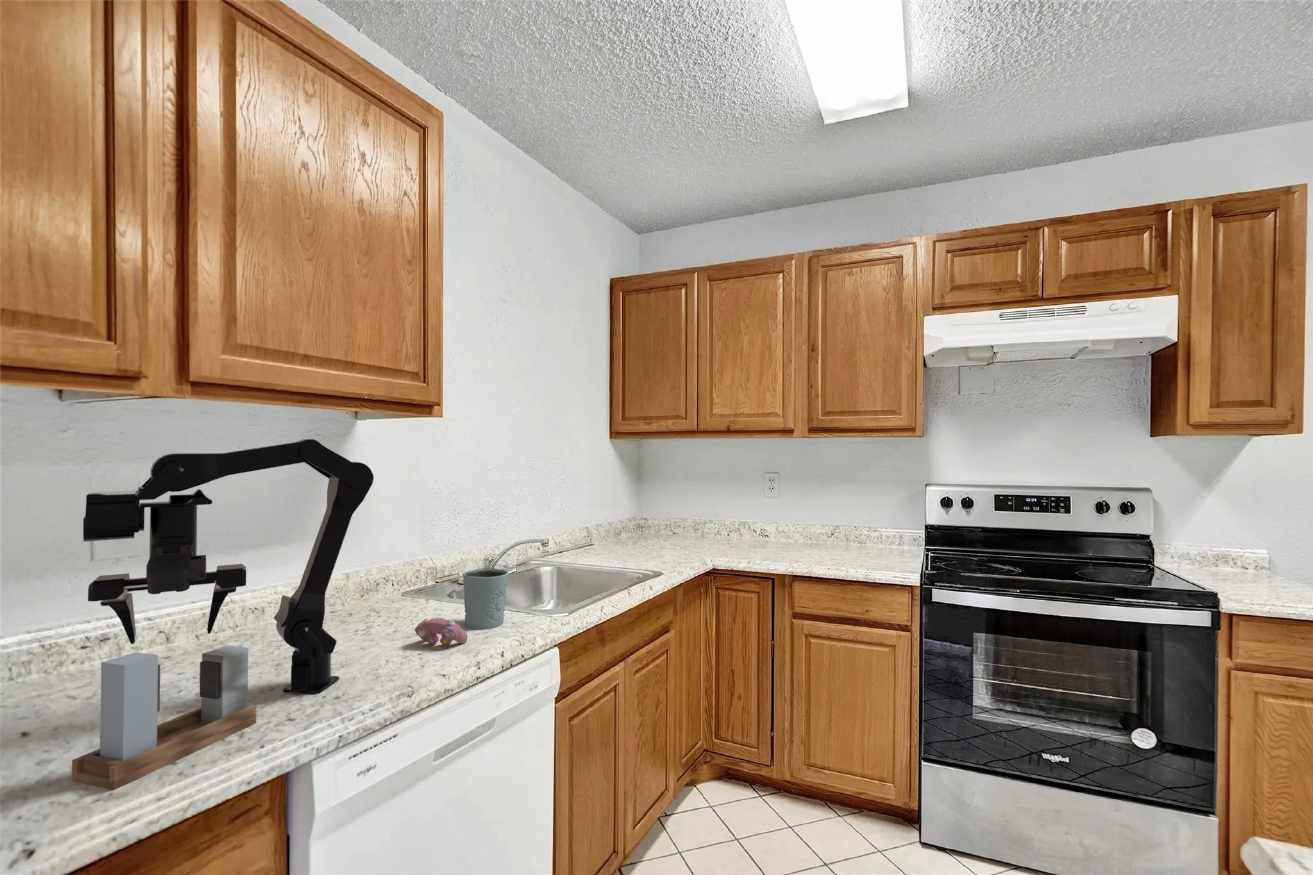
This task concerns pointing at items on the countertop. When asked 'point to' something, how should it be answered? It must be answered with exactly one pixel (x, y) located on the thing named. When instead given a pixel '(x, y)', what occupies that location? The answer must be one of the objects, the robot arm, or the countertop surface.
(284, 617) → the robot arm
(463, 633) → the video game controller
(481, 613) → the grey green cup
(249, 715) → the walnut rail
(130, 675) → the slate finger
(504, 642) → the countertop surface
